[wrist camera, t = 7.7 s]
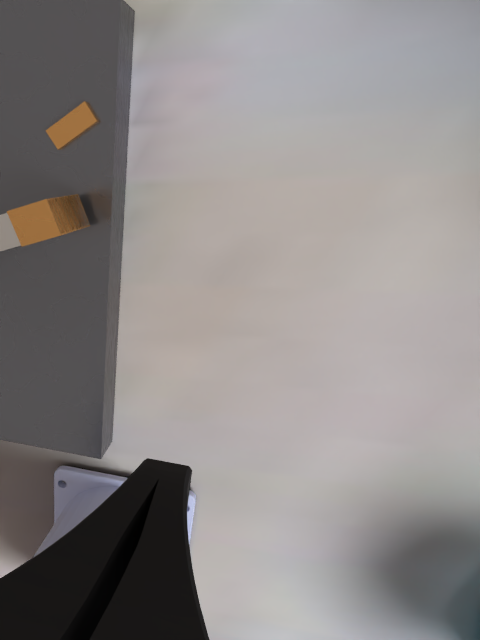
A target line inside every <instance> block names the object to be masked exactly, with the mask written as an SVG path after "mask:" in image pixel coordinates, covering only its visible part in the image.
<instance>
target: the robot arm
mask: <svg viewBox="0 0 480 640" xmlns="http://www.w3.org/2000/svg"><path fill="white" fill-rule="evenodd" d="M191 475H192V470H191V468H190V467H189V466H185V465H180V464H175V463H169V462H164V461H159V460H153V459H146V460H144V461H143V462H142V463H141V465H140V466H139V467H138V468H137V469H136V470H135V471H134V472H133V473H132V474H131V475H130V477H129V478H126V477H121V476H116V475H111V474H106V473H100V472H95V471H90V470H85V469H80V468H75V467H70V466H59V467H58V468H57V470H56V471H55V473H54V525H53V527H52V528H51V530H50V531H49V533H48V534H47V536H46V538H45V539H44V541H43V542H42V544H41V545H40V547H39V548H38V550H37V551H36V553H35V555H34V556H33V558H32V559H30V560H29V561H27V562H26V563H24V564H23V565H21V566H20V567H18V568H17V569H15V570H13V571H12V572H10V573H8V574H7V575H5V576H4V577H2V578H0V640H209V637H208V633H207V630H206V626H205V622H204V619H203V615H202V611H201V608H200V604H199V599H198V595H197V590H196V585H195V580H194V575H193V569H192V563H191V556H190V548H189V545H190V538H191V531H192V524H193V517H194V510H195V502H196V495H195V493H194V492H192V491H191V490H190V483H191ZM62 480H63V481H65V482H66V483H64V482H63V481H62ZM188 506H189V507H188Z"/></svg>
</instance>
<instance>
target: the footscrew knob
mask: <svg viewBox="0 0 480 640" xmlns="http://www.w3.org/2000/svg"><path fill="white" fill-rule="evenodd" d="M88 226H90V224H89V221H88V218H87V216H86V213H85V210H84V208H83V205H82V202H81V200H80V197H79V194H75V195H69V196H62V197H56V198H50V199H45V200H41V201H38V202H35V203H32V204H28V205H25V206H22V207H19V208H15V209H12V210H9V211H7V213H5V214H1V215H0V251H4V250H7V249H11V248H14V247H18V246H22V247H23V246H26V245H30V244H33V243H37V242H40V241H43V240H47V239H50V238H54V237H57V236H61V235H64V234H67V233H70V232H73V231H76V230H79V229H82V228H85V227H88Z"/></svg>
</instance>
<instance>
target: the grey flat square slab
mask: <svg viewBox="0 0 480 640" xmlns="http://www.w3.org/2000/svg"><path fill="white" fill-rule="evenodd" d="M134 12H135V11H134V10H133V9H132V8H131V7H130V6H129V5H128V4H127V3H126V2H125V1H124V0H0V215H1V214H5V213H7V211H9V210H12V209H15V208H19V207H22V206H25V205H28V204H32V203H35V202H38V201H41V200H45V199H50V198H56V197H62V196H69V195H75V194H79V197H80V200H81V202H82V205H83V208H84V210H85V213H86V216H87V218H88V221H89V224H90V226H88V227H85V228H82V229H79V230H76V231H73V232H70V233H67V234H64V235H61V236H57V237H54V238H50V239H47V240H43V241H40V242H37V243H33V244H30V245H26V246H23V247H22V246H18V247H14V248H11V249H7V250H4V251H0V440H5V441H10V442H16V443H21V444H26V445H31V446H36V447H41V448H47V449H52V450H57V451H62V452H67V453H73V454H78V455H83V456H88V457H93V458H98V459H101V458H102V457H103V455H104V454H105V452H106V450H107V449H108V447H109V446H110V444H111V442H112V433H113V414H114V395H115V376H116V356H117V337H118V318H119V299H120V280H121V261H122V242H123V223H124V204H125V184H126V165H127V146H128V127H129V108H130V89H131V70H132V51H133V32H134Z"/></svg>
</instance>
